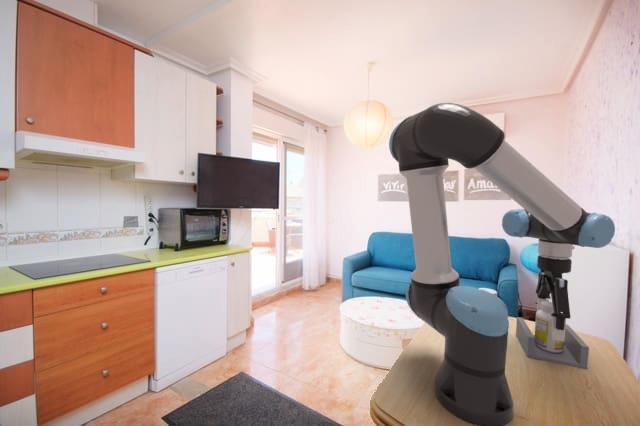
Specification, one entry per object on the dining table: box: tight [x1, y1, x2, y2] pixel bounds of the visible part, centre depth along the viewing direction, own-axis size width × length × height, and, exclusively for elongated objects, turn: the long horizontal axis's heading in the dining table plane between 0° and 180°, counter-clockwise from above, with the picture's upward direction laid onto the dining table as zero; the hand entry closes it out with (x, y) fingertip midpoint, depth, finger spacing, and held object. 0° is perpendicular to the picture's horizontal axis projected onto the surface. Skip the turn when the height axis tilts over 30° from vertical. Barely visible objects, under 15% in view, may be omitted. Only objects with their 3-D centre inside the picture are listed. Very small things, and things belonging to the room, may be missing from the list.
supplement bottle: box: [534, 301, 564, 353], centre depth 83 cm, size 7×7×13 cm
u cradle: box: [515, 316, 590, 370], centre depth 84 cm, size 13×14×6 cm
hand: (549, 329), depth 84 cm, fingers open, 13 cm apart
